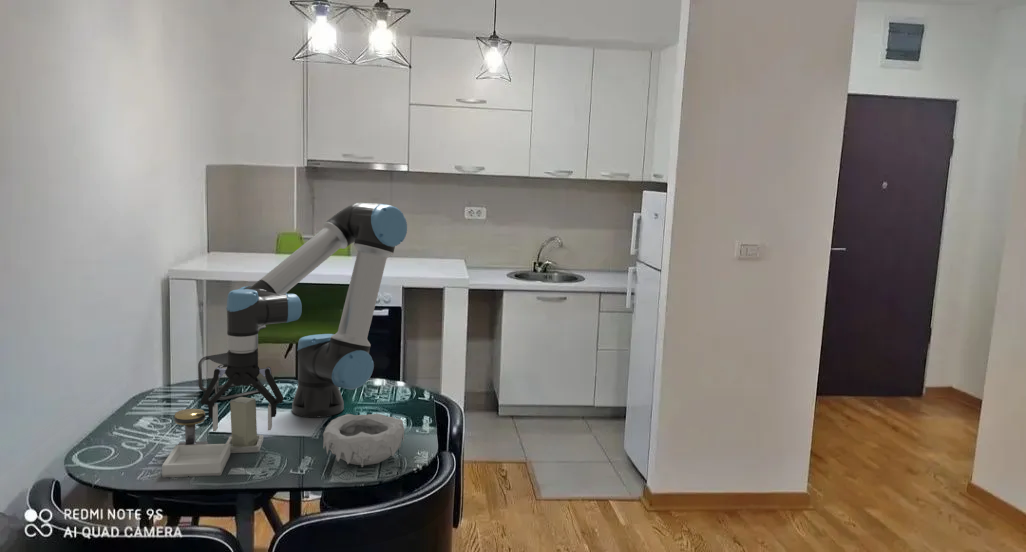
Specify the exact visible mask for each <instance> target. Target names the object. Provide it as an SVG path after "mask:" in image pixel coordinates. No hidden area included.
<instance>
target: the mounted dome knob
mask: <svg viewBox="0 0 1026 552" xmlns="http://www.w3.org/2000/svg"><path fill="white" fill-rule="evenodd" d="M205 420H206V412H205V410H203V409H199V408H188V409H187V408H186V409H181V410H178V411H177V412H175V413H174V416H173V421H174V423H175V424H176V425H179V426H184V431H185V432H184V433H185V437H184V438H185V441H180V442H178V444H177V445H200V444H209V442H208V441H204V440H203V441H196V425H198V424H200V423H203V422H205Z"/></svg>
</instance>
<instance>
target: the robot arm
mask: <svg viewBox="0 0 1026 552" xmlns="http://www.w3.org/2000/svg"><path fill="white" fill-rule="evenodd" d="M407 231H408V223H407V219H406V217H405V216H404V213H403V212H402V211H401V210H400V209H399V208H398V207H396V206H393V205H390V204H388V203H387V204H386V203H373V202H372V203H371V202H366V201H365V202H363V201H361V202H355V203H352V204H350V205H348V206H346V207H344V208H343V209H342V210H340V211H339V212H337V213H335V214H334V215H333V216H332V217H330V218H329V219H328V220H327V221H325V222H324V223H323V225H322V229H320V231H318V232H317V233H316V234H315V235H314V236H312V237H311V238H309V239H308V240H307V241H306V242H305V243H303V244H302V245H301V246H300V247H298V248H297V249H296V250H295V251H294V252H292V253H291V254H290V255H289V256H287V257H286V258H285V259H284V260H283V261H281V262H280V263H279V264H278V265H276V266H275V267H274V268H273V269H271V270H270V271H269V272H267V273H266V274H265V275H264V276H262V277H261V278H260V279H259V280H258V281H256V282H255V283H253V284H252V286H251V285H248V286H246V285H245V286H242V287H240V288H239V289H232V290H230V291H229V292H228V294H227V298H226V307H225V308H226V323H227V324H226V327H227V333H226V349H227V350H228V351H227V352H226V353H227V367H226V368H220V367H218V366H217V367H216V368H215V369H214V370H213V378H212V379H211V381H210V383H209V385H208V387H206V388H207V390H206V391H204V395H203V396H202V398H201V400H200V404H201V405H206V406H207V407H208V409H207V410H208V411H207V414H208V418H209V419H212V432H217V430H218V428H219V414H218V413H219V410H218V409H219V403H216V402H218V400H219V398H220V397H221V396H222V397H223V395H224V394H225V393H226V391H227V390H228V389H230V388H231V387H230V386H231V385H232V384H234V385H236V386H235V387H240V386H246V387H249V386H252V385H253V386H252V387H253V388H255V390H258V391H259V392H260V393H259V394H261V395H262V396H263V397H264V399H265V400H266V401H267V402H268V405H267V431H272V429H273V418H276V417H277V405H279V404H282V403H283V402H284V399H285V397H284V396H283V394H282V392H281V390H280V388H279V386H278V385H277V382H276V380H275V379H274V377H273V374H272V368H271V367H270V366H267V367H266V368H265V367H264V368H260V367H259V350H258V351H257V350H256V349H257V348H258V349H259V332H258V327H259V326H258V325H265V326H266V325H273V324H281V323H282V324H285V323H286V324H287V323H290V322H294V321H298V320H299V319H300V318H301V316H302V309H303V308H302V307H303V306H302V305H303V304H302V301H301V299H300V296H298V295H297V294H295V293H288V292H289V291H290V290H292V289H293V288H294V287H295V286H296V285H297V284H298V283H300V282H301V281H302V280H303V279H305V278H306V277H308V275H309V274H311V273H312V272H313V271H314V270H315V269H317V268H318V267H319V266H320V265H322V264H323V263H324V262H325V261H327V260H328V259H329V258H330V257H331V256H333V254H335V253H336V252H338V250H339V249H343V250H344V249H346V248H348V247H349V246H350V245H351V244H353V245H354V247H355V249H356V250H357V253H356V257H355V261H354V265H353V270H352V273H351V277H350V282H349V286H348V289H347V292H346V297H345V302H344V304H343V310H342V313H341V318H340V321H339V325H338V328H337V331H336V333H335V334H334V333H322V334H321V333H319V334H310V335H306V336H302V337H300V338H299V340H298V344H297V349H296V351H297V381H298V382H297V388H296V390H295V394H294V397H293V400H292V403H291V404H292V405H291V412H292V413H293V414H294V415H296V416H299V417H304V418H323V417H324V418H325V417H331V416H335V415H337V414H340V413H342V412H343V410H344V409H345V407H344V406H345V405H344V403H345V402H344V399H343V396H342V393H341V390H340V389H341V388H342V389H346V390H356V389H358V388H361V387H362V386H363V385H364V384H366V383H367V382H368V381H369V380H370V378H371V376H372V374H373V371H374V367H375V364H374V363H375V362H374V360H373V358H372V356H371V354H370V351H371V350H370V349H371V347H372V346H371V345H372V344H371V343H370V341H369V340H368V336H369V331H370V327H371V324H372V321H373V316H374V311H375V309H376V303H377V299H378V295H379V291H380V288H381V283H382V279H383V275H384V271H385V268H386V263H387V260H388V258H389V257H391V256H393V255H394V251H395V248H396V246H399V245H400V244H401V243H402V242H404V241H405V239H406V235H407V233H408V232H407ZM260 374H261V375H262V377H264V378H265V379H266V382H267V384H268V385H269V388H270V389H271V392H272V393H273V394H272V393H271V392H270V391H269V390H268V389H267V388H266V386H265V385H264V384H263V383H262V382H261V381H260V379H259V378H258V377H259V375H260ZM224 375H225V376H226V377H227V378H228V380H227V381H226V382H225V383H224V384H223V385H224V386H223V387H222V388H221V389H219V391H218V392H217V393H216V395H215V394H214V395H213V397H211V398H210V396H211V394H212V393H213V391H214V390H213V388H214V387H215V385H216V383H217V381H218V379H219V380H220V378H222V377H223V376H224ZM251 384H252V385H251Z"/></svg>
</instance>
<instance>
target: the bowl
mask: <svg viewBox="0 0 1026 552" xmlns="http://www.w3.org/2000/svg"><path fill="white" fill-rule="evenodd" d="M322 436H323V439H322V440H323V441H322V442H323V445H322V446H323V447H322V449H323V450H326V454H327V455H328V454H329V451H331V453H332V454H333V455H334V456H335V461H337V462H339V461H340V459H341V460H342V461H344V462H346V463H347V465H349V464H350V465H356V466H360V467H361V468H363V467H364V466H371V465H376V464H380V463H381V462H384V461H385V460H388V459H389V458H390V457H391V456H392V457H394V456H395V454H396V452H397V451H398V450H399V449H400V450H401V446H402V443H403V444H404V440H405V426H404V422H403V419H401V418H396V417H393V416H387V415H384V414H382V413H372V414H371V413H368V414H357V415H355V414H352V413H347V414H344V415H340V416H337V417H335V418H334V419H331V420H330V422H328V424H327V425H326V427H325V428H324V431H323V433H322Z"/></svg>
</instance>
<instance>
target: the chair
mask: <svg viewBox="0 0 1026 552" xmlns="http://www.w3.org/2000/svg"><path fill="white" fill-rule="evenodd" d="M266 328H267V326H266V325H258V333H259V332H260V331H261V330H263V329H264V330H265V329H266ZM256 350H257V351H258V352H259V347H258V348H257V349H256ZM207 360H208V361H209V360H210V361H212V362H213V363H216V364H219V365H218V366H217V367H220V368H221V369H225V368H227V352H224V353H219V354H211V355H206V356H204V357H202V358H200V360H199V361H198V365H197V373H198V375H197V377H198V379H197V380H198V383H197V384H198V388H199V390H201V391H202V392H206V390H207V388H208V387H205V386H203V374H202V373H203V368H202V367H203V366H202V365H203V363H204V362H205V361H207ZM219 380H220V378H219V379H218V381H217V383H216V385H215V387H214V388H213V390H212V391H214V396H215V395H216V393H217V392H218V391H219V390H220V389H221V388H222V387H223V386H224V385H225V384H221V385H219V383H220V381H219ZM250 386H252V387H254V386H253V385H252V384H251V385H250ZM232 387H237V386H236V385H234V384H232V385H231V386H230V387H229V388H232ZM256 394H261V393H260V392H259V391H258V390H257V389H254V390H251V391H246V392H240V393H236V394H230V395H225V396H223V395H222V396H221V397H220V398H219V399H218V400H219V401H225V400H226V401H227V400H230V399H231V400H233V399H236V398H238V397H246V396H251V395H256Z"/></svg>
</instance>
